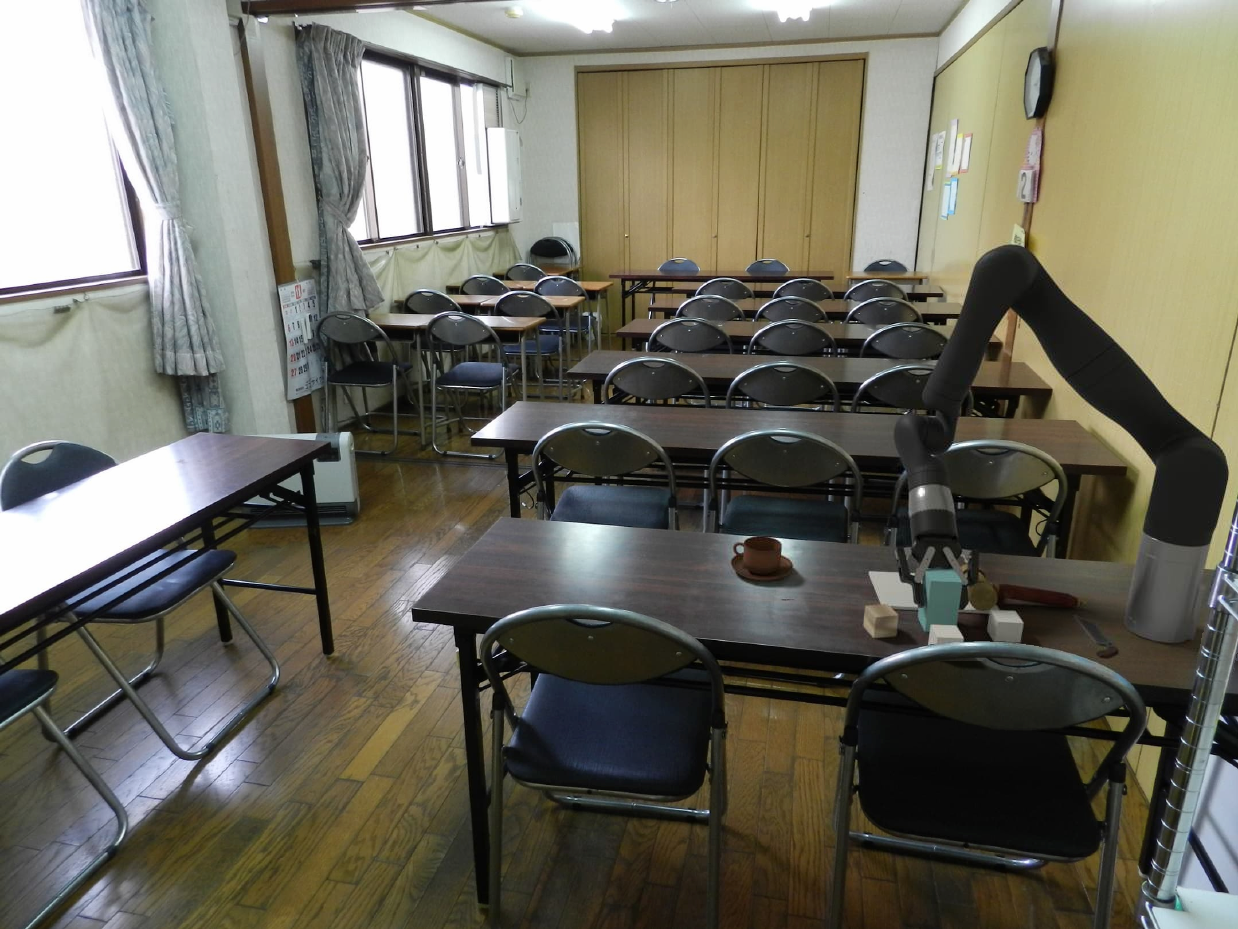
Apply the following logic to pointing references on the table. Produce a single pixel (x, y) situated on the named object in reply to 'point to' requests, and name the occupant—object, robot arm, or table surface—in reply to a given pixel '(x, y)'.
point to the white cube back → (944, 634)
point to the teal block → (940, 598)
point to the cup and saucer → (761, 559)
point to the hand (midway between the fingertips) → (941, 607)
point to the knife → (1097, 637)
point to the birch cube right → (880, 620)
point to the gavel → (1014, 594)
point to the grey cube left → (1005, 626)
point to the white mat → (903, 592)
